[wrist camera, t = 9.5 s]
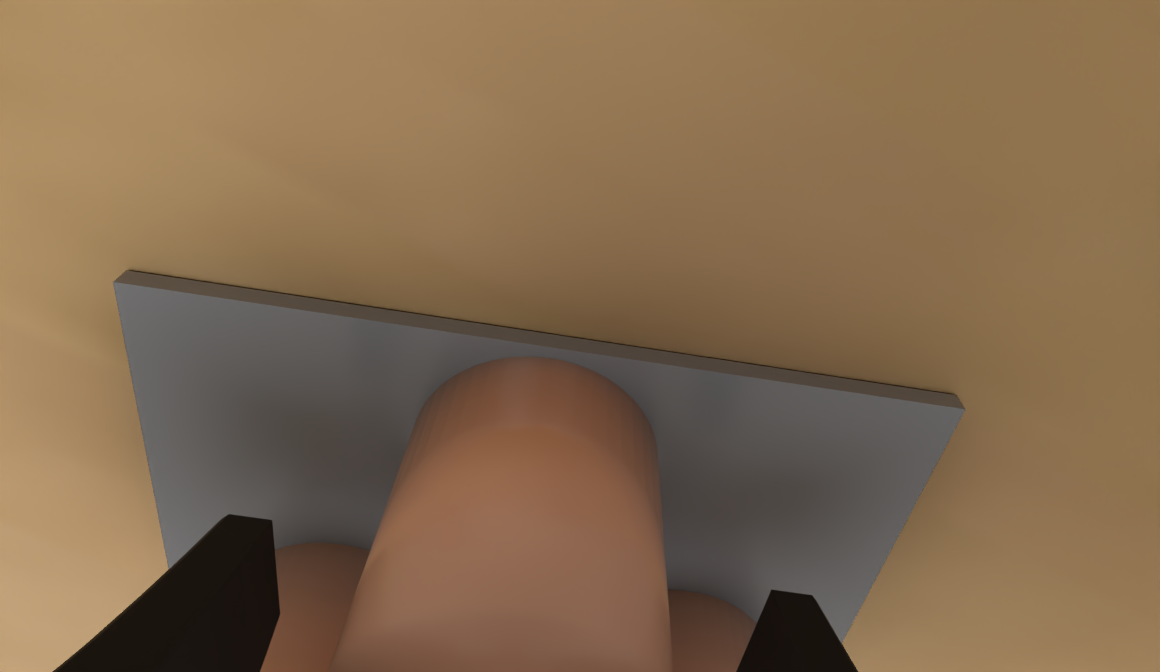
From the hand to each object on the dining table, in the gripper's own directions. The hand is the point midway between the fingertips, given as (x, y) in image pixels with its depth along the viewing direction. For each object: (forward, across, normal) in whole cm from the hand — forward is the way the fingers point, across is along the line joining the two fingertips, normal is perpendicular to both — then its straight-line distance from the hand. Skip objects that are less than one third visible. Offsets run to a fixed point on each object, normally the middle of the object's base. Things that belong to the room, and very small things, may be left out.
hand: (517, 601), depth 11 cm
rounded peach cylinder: (+3, 0, 0) cm, 3 cm away
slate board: (+3, 0, +3) cm, 5 cm away
